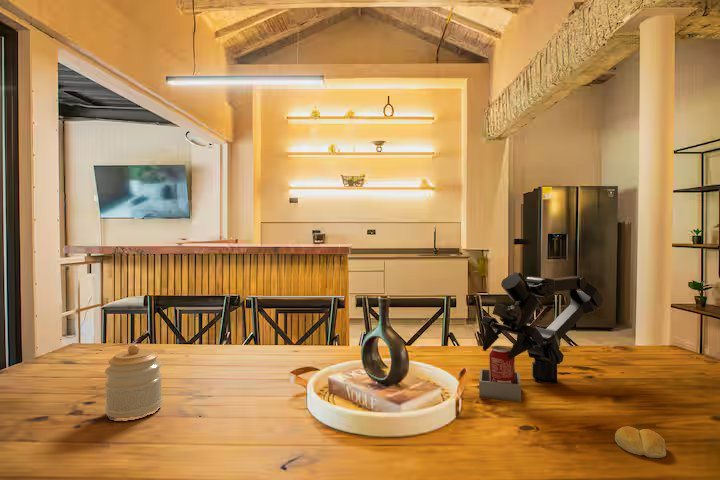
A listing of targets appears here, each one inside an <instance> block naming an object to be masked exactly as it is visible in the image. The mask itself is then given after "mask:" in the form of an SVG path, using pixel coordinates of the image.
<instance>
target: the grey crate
mask: <svg viewBox="0 0 720 480" xmlns="http://www.w3.org/2000/svg"><path fill="white" fill-rule="evenodd" d="M520 377H521V376H520V371H515V384H510V383H500V382H490V376H489V369H488V368H487V369H486V368H480V370H479V380H478V382H479V385H478V387H479V388H478V389H479V391H478V392H479V393H478V395H479V396H478V398H481V399H483V398H484V399H491V400H499V401H500V400H501V401H509V402H518V403H521V402H522V384H521V378H520Z"/></svg>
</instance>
